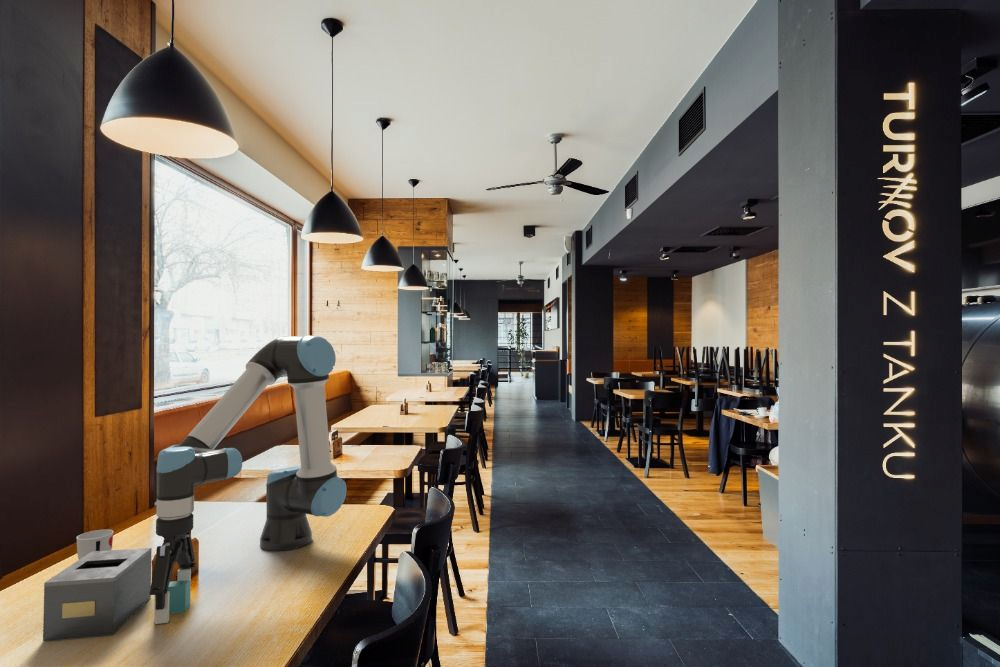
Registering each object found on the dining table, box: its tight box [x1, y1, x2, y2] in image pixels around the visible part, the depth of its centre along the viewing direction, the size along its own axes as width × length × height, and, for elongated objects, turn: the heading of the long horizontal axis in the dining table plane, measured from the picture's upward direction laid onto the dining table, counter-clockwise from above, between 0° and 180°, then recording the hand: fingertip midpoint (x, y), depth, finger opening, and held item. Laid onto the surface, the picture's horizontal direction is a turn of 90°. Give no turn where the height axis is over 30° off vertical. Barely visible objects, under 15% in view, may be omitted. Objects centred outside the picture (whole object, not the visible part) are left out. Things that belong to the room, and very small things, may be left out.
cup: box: [76, 529, 114, 560], centre depth 149 cm, size 8×8×10 cm
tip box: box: [42, 547, 152, 642], centre depth 123 cm, size 13×18×12 cm
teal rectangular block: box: [168, 580, 191, 614], centre depth 127 cm, size 6×3×6 cm, turn 101°
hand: (173, 609), depth 126 cm, fingers open, 12 cm apart
